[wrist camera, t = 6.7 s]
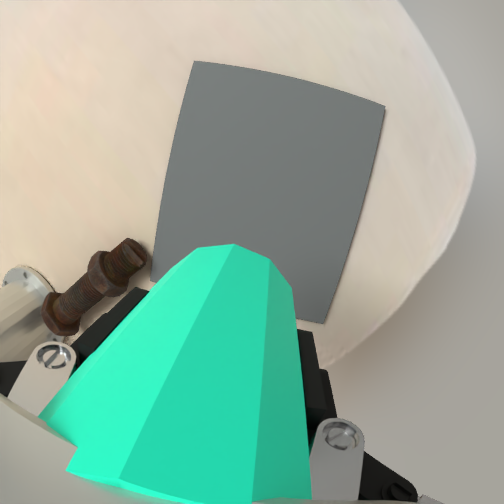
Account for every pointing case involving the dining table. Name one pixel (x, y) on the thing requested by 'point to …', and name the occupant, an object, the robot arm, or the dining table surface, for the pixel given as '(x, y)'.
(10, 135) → the dining table surface
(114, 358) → the candle
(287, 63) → the dining table surface
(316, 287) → the mat
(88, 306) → the bolt
